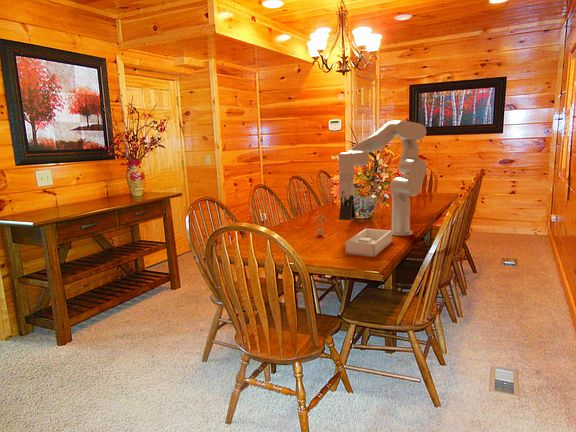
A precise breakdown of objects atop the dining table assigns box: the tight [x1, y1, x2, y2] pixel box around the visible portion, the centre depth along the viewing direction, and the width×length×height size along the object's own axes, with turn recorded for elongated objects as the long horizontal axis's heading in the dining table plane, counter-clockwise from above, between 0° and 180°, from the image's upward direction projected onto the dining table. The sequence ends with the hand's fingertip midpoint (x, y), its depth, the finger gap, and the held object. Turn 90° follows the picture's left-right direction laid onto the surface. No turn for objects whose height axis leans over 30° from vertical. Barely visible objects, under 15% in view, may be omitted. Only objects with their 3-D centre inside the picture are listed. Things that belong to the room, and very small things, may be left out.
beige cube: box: [359, 237, 372, 243], centre depth 206 cm, size 5×5×5 cm
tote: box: [345, 228, 393, 258], centre depth 212 cm, size 30×14×6 cm, turn 151°
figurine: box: [312, 213, 329, 237], centre depth 240 cm, size 8×6×12 cm
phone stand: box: [338, 195, 357, 221], centre depth 220 cm, size 9×6×12 cm, turn 151°
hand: (347, 212), depth 221 cm, fingers closed on phone stand, 1 cm apart
